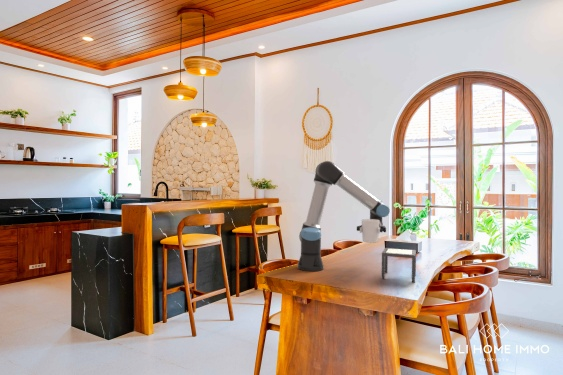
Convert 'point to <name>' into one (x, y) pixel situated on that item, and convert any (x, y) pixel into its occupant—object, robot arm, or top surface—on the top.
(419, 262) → the top surface
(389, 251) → the trapdoor
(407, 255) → the stand
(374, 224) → the candle holder
